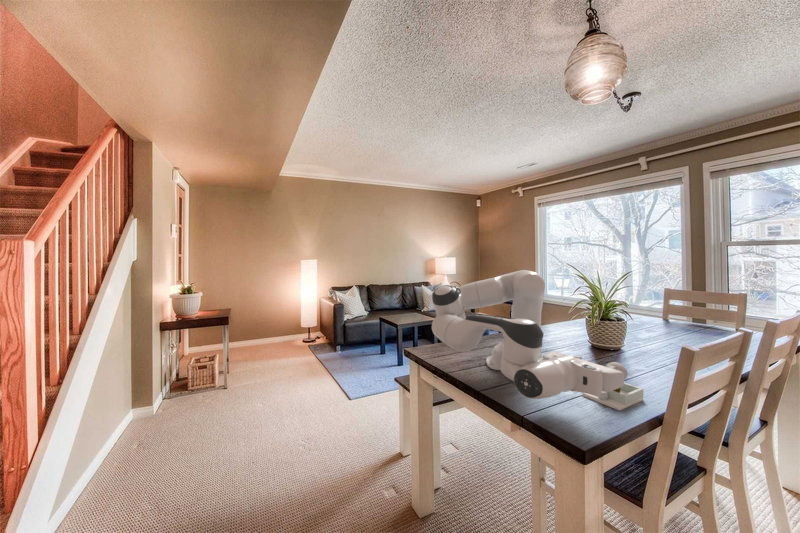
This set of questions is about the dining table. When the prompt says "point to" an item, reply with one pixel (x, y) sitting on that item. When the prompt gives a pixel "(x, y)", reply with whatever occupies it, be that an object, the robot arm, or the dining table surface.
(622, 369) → the light bulb
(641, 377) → the dining table surface
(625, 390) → the housing base
